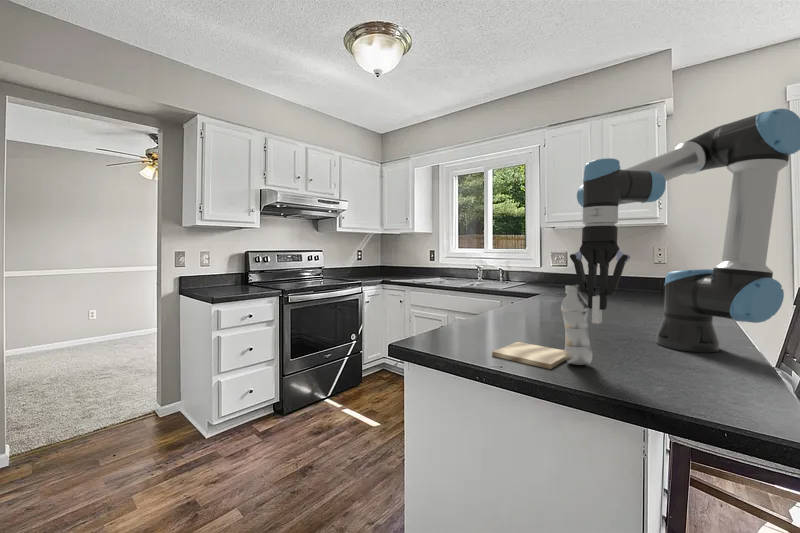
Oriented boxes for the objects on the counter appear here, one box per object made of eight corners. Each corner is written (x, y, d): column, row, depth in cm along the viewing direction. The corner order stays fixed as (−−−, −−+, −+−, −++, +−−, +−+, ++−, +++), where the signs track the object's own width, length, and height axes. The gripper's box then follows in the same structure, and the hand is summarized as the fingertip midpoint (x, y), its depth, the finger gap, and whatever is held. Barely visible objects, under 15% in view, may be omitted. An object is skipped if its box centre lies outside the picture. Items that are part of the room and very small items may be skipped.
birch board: (572, 356, 102) (572, 351, 101) (550, 369, 91) (550, 364, 91) (517, 345, 113) (517, 341, 113) (492, 355, 102) (492, 351, 102)
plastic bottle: (592, 361, 95) (586, 284, 96) (593, 368, 89) (587, 285, 90) (565, 360, 98) (559, 285, 98) (564, 367, 92) (558, 287, 92)
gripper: (566, 225, 91) (563, 321, 92) (626, 223, 82) (623, 329, 83) (576, 227, 96) (574, 317, 98) (634, 225, 87) (631, 324, 89)
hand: (596, 322), depth 90 cm, fingers closed
